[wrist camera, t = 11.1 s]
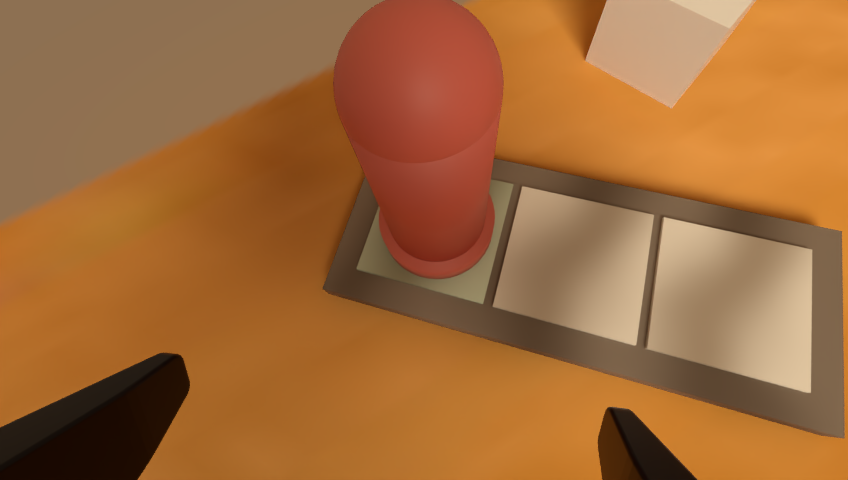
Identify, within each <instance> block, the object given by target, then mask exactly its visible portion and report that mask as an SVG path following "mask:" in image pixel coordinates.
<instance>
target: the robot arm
mask: <svg viewBox="0 0 848 480" xmlns="http://www.w3.org/2000/svg"><path fill="white" fill-rule="evenodd" d="M189 388H190V381H189V377H188V374H187V370H186V367H185V363H184V360H183V358H182V356H181V355H179V354H173V353H159V354H157V355H155V356H153V357H150V358H148V359H146V360H144V361H142V362H140V363H138V364H135V365H133V366H131V367H129V368H127V369H125V370H123V371H120V372H118V373H116V374H114V375H112V376H110V377H108V378H105V379H103V380H101V381H99V382H97V383H95V384H92V385H90V386H88V387H86V388H84V389H82V390H80V391H77V392H75V393H73V394H71V395H69V396H67V397H65V398H62V399H60V400H58V401H56V402H54V403H52V404H50V405H47V406H45V407H43V408H41V409H39V410H37V411H35V412H32V413H30V414H28V415H26V416H24V417H22V418H20V419H17V420H15V421H13V422H11V423H9V424H7V425H5V426H2V427H0V480H137V479H138V478H139V476H140V475H141V473H142V472H143V470H144V469H145V467H146V466H147V464H148V463H149V461H150V460H151V458H152V456H153V455H154V453H155V451H156V450H157V448H158V446H159V444H160V442H161V441H162V439H163V437H164V435H165V433H166V432H167V430H168V428H169V426H170V425H171V423H172V421H173V419H174V417H175V416H176V414H177V412H178V410H179V408H180V407H181V405H182V403H183V401H184V399H185V398H186V396H187V394H188V391H189ZM598 451H599V458H600V465H601V472H602V479H603V480H697V479H696V478H695V477H694V476H693V475H692V473H691V472H690V471H689V470H688V469H687V468H686V467H685V466H684V465H683V464H682V463H681V462H680V461H679V460H678V459H677V458H676V457H675V456H674V455H673V454H672V453H671V451H670V450H669V449H668V448H667V447H666V446H665V445H664V444H663V443H662V442H661V441H660V440H659V439H658V438H657V437H656V436H655V435H654V434H653V433H652V432H651V431H650V429H649V428H648V427H647V426H646V425H645V424H644V423H643V422H642V421H641V420H640V419H639V418H638V417H637V416H636V415H635V414H634V413H633V412H632V411H631V410H629V409H625V408H617V407H608V408H607V409H606V411H605V414H604V418H603V421H602V425H601V429H600V432H599V436H598Z"/></svg>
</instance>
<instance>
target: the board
mask: <svg viewBox="0 0 848 480" xmlns="http://www.w3.org/2000/svg"><path fill="white" fill-rule="evenodd" d="M489 194H490V196H491V199H492V202H493V205H494V210H495V223H494V229H493V233H492V238H491V242H490V244H489V247H488V249H487V251H486V253H485V254H484V256H483V257H482V258H481V260H480V261H479V262H478V263H477V264H476V265H475V266H473V267H472V268H471V269H469V270H468V271H466V272H464V273H462V274H460V275H458V276H454V277H451V278H446V279H428V278H424V277H420V276H417V275H414V274H412V273H410V272H409V271H407V270H405V269H404V268H403V267H401V266H400V265H399V264H398V263H397V262H396V261H395V259H394V258H393V257H392V255H391V254H390V252H389V250H388V248H387V246H386V244H385V242H384V240H383V238H382V235H381V232H380V228H379V211H380V207H379V205H378V203H377V201H376V198H375V196H374V194H373V192H372V189H371V187H370V185H369V183H368V180H367V178H366V176H365V178H364V181H363V183H362V186H361V189H360V191H359V194H358V197H357V199H356V202H355V205H354V207H353V210H352V212H351V215H350V218H349V220H348V223H347V226H346V228H345V231H344V234H343V236H342V239H341V242H340V244H339V247H338V249H337V252H336V255H335V257H334V260H333V263H332V265H331V268H330V271H329V273H328V276H327V278H326V281H325V284H324V286H323V289H324V290H325V291H326V292H328V293H329V294H332V295H336V296H339V297H342V298H346V299H349V300H353V301H356V302H360V303H363V304H367V305H370V306H374V307H377V308H381V309H384V310H388V311H391V312H395V313H398V314H401V315H405V316H408V317H412V318H415V319H419V320H422V321H426V322H429V323H433V324H436V325H440V326H443V327H447V328H450V329H454V330H457V331H460V332H464V333H467V334H471V335H474V336H478V337H481V338H485V339H488V340H492V341H495V342H499V343H502V344H506V345H509V346H513V347H516V348H519V349H523V350H526V351H530V352H533V353H537V354H540V355H544V356H547V357H551V358H554V359H558V360H561V361H565V362H568V363H572V364H575V365H578V366H582V367H585V368H589V369H592V370H596V371H599V372H603V373H606V374H610V375H613V376H617V377H620V378H624V379H627V380H631V381H634V382H637V383H641V384H644V385H648V386H651V387H655V388H658V389H662V390H665V391H669V392H672V393H676V394H679V395H683V396H686V397H690V398H693V399H696V400H700V401H703V402H707V403H710V404H714V405H717V406H721V407H724V408H728V409H731V410H735V411H738V412H742V413H745V414H749V415H752V416H755V417H759V418H762V419H766V420H769V421H773V422H776V423H780V424H783V425H787V426H790V427H794V428H797V429H801V430H804V431H808V432H811V433H814V434H818V435H821V436H829V437H837V438H844V362H843V287H842V231H837V230H833V229H828V228H823V227H818V226H814V225H809V224H804V223H799V222H795V221H790V220H785V219H780V218H776V217H771V216H766V215H761V214H757V213H752V212H747V211H742V210H737V209H733V208H728V207H723V206H718V205H714V204H709V203H704V202H699V201H695V200H690V199H685V198H680V197H676V196H671V195H666V194H661V193H657V192H652V191H647V190H642V189H637V188H633V187H628V186H623V185H618V184H614V183H609V182H604V181H599V180H595V179H590V178H585V177H580V176H576V175H571V174H566V173H561V172H557V171H552V170H547V169H542V168H537V167H533V166H528V165H523V164H518V163H514V162H509V161H504V160H499V159H495V158H494V160H493V167H492V174H491V181H490V188H489Z"/></svg>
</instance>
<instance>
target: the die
mask: <svg viewBox="0 0 848 480" xmlns="http://www.w3.org/2000/svg"><path fill="white" fill-rule="evenodd" d="M755 1H756V0H607V1H606V4H605V7H604V9H603V12H602V15H601V18H600V21H599V23H598V26H597V29H596V32H595V34H594V37H593V40H592V43H591V45H590V48H589V51H588V54H587V56H586V59H585V61H586V62H588V63H590V64H592V65H594V66H595V67H597V68H599V69H601V70H603V71H604V72H606V73H608V74H610V75H612V76H614V77H615V78H617V79H619V80H621V81H623V82H624V83H626V84H628V85H630V86H632V87H633V88H635V89H637V90H639V91H641V92H642V93H644V94H646V95H648V96H650V97H652V98H653V99H655V100H657V101H659V102H661V103H662V104H664V105H666V106H668V107H670V108H671V109H672V107H673V106H674V105H675V104H676V102H677V101H678V100H679V99H680V97H681V96H682V95H683V94H684V93H685V91H686V90H687V89H688V88H689V86H690V85H691V84H692V83H693V81H694V80H695V79H696V78H697V76H698V75H699V74H700V73H701V71H702V70H703V69H704V68H705V67H706V65H707V64H708V63H709V62H710V60H711V59H712V58H713V57H714V55H715V54H716V53H717V52H718V50H719V49H720V48H721V47H722V45H723V44H724V43H725V42H726V40H727V39H728V37H729V36H730V35H731V33H732V32H733V31H734V29H735V28H736V27H737V25H738V24H739V23H740V21H741V20H742V19H743V17H744V16H745V15H746V13H747V12H748V11H749V9H750V8H751V7H752V5H753V4H754V2H755Z"/></svg>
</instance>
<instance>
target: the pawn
mask: <svg viewBox="0 0 848 480" xmlns="http://www.w3.org/2000/svg"><path fill="white" fill-rule="evenodd" d="M333 86H334V97H335V103H336V107H337V111H338V114H339V117H340V119H341V122H342V124H343V126H344V129H345V131H346V133H347V135H348V138H349V140H350V142H351V144H352V147H353V149H354V151H355V153H356V156H357V158H358V160H359V162H360V165H361V167H362V169H363V171H364V174H365V176H366V178H367V180H368V183H369V185H370V187H371V189H372V192H373V194H374V196H375V198H376V201H377V203H378V205H379V207H380V211H379V228H380V232H381V235H382V238H383V240H384V242H385V244H386V246H387V248H388V250H389V252H390V254H391V255H392V257H393V258H394V259H395V261H396V262H397V263H398V264H399V265H400V266H401V267H403V268H404V269H405V270H407V271H409V272H410V273H412V274H414V275H417V276H420V277H424V278H428V279H446V278H451V277H454V276H458V275H460V274H462V273H464V272H466V271H468V270H469V269H471V268H472V267H473V266H475V265H476V264H477V263H478V262H479V261H480V260H481V258H482V257H483V256H484V254H485V253H486V251H487V249H488V247H489V244H490V242H491V238H492V233H493V229H494V223H495V210H494V205H493V202H492V199H491V196H490V194H489V188H490V181H491V174H492V167H493V160H494V154H495V147H496V140H497V133H498V126H499V119H500V112H501V105H502V97H503V71H502V65H501V61H500V57H499V54H498V51H497V48H496V46H495V44H494V41H493V40H492V38H491V36H490V35H489V33H488V32H487V30H486V28H485V27H484V26H483V25H482V23H481V22H480V21H479V20H478V19H477V18H476V17H475V16H474V15H473V14H472V13H471V12H469V11H468V10H467V9H465V8H464V7H462V6H461V5H459V4H457V3H456V2H454V1H452V0H385V1H383V2H381V3H379V4H377V5H375V6H374V7H372V8H371V9H369V10H368V11H367V12H366V13H364V14H363V15H362V16H361V17H360V18H359V19H358V20H357V22H356V23H355V24H354V25H353V26H352V28H351V29H350V30H349V32H348V34H347V35H346V37H345V39H344V41H343V43H342V45H341V47H340V50H339V53H338V56H337V60H336V64H335V69H334V81H333Z"/></svg>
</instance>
